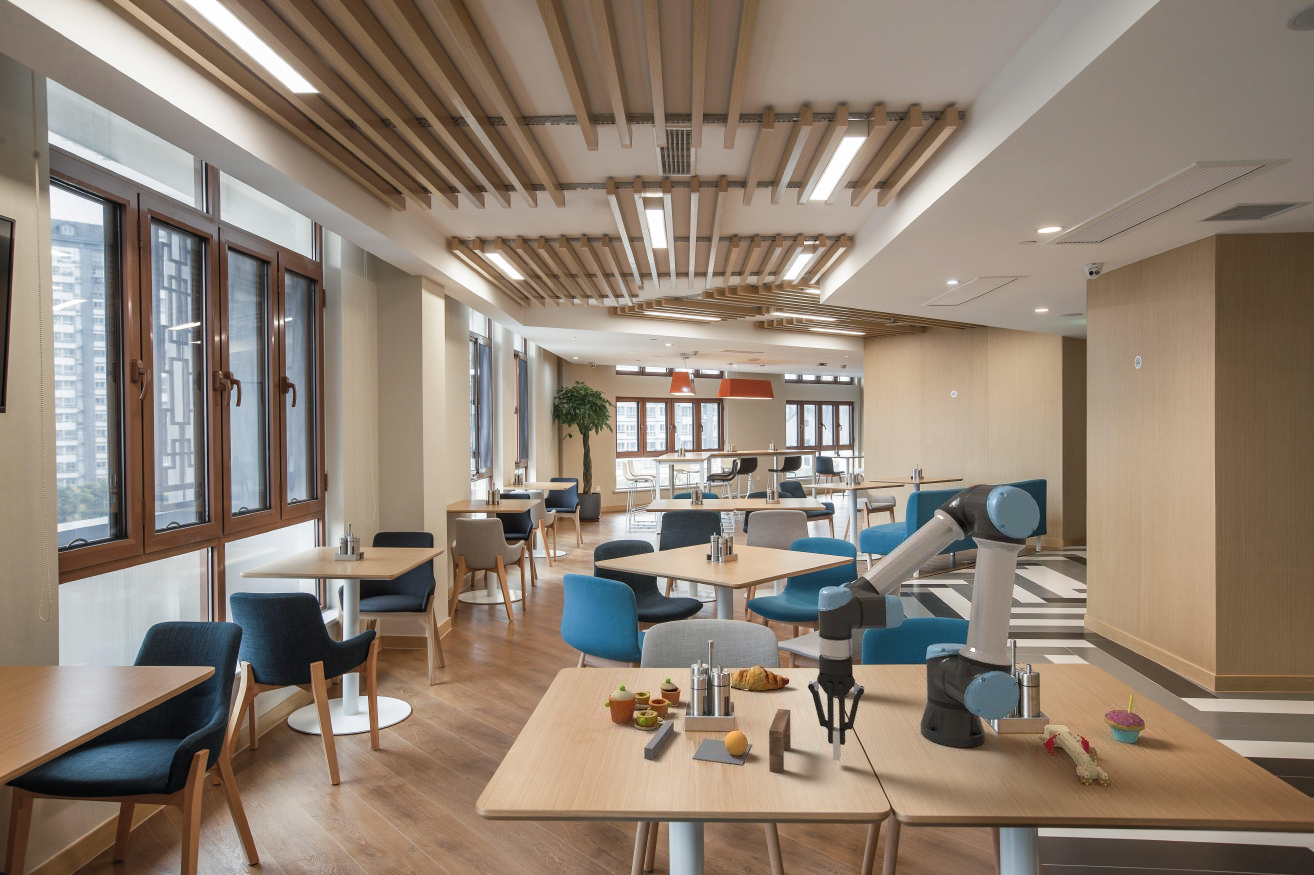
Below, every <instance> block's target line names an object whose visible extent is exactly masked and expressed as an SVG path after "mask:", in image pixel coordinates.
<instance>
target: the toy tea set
mask: <svg viewBox="0 0 1314 875" xmlns="http://www.w3.org/2000/svg"><path fill="white" fill-rule="evenodd" d="M659 689H660V694H661V697H658V698H657V697H655V698H652V699H650V697H651V692H650V691H649V690H646V691H636V692H635V691H634V692H632V691H631V690H629V689H628V688H627V689H626V687H625V685H622V684H621V685H620V686H619V688H618V689H616V690H615V691H614V692H612V693H611V694H610V695H609V696H608V701H605V702H604V706H605V708H609V710H610V711H609V712H610V719H611V721H612V722H613V723H614V722H615V723H614V724H618V723H625V724H628V723H631V722H633V720H634V714H635V713H634V712H635V710H636V709H645V710H639V711H638V712H637V713H636V721H635V722H634V723H633V724H634V725H633V726H634V727H635V729H637V730H642V731H652V730H656V729H658V728H659V727H660V723H663V722H664V719H663V718H666V717H667V716H668V712H669V711H668V710H669V708H670V709H671V708H672V707H673V706H672V705H677V704H678V703H679V704H680V697H681V692H682V691H681V688H680V687H679V686H677V685H676V684H675V683H674V682H672V681H671V678H670V677H667V678H665V682H662V683H661V684H660V685H659ZM679 704H678V705H679ZM678 705H677V706H678ZM666 715H667V716H666ZM665 716H666V717H665ZM658 717H663V718H658Z"/></svg>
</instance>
